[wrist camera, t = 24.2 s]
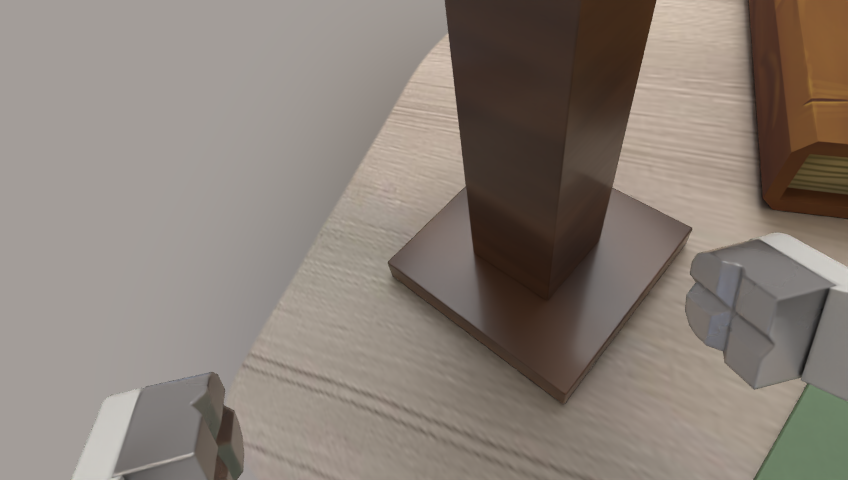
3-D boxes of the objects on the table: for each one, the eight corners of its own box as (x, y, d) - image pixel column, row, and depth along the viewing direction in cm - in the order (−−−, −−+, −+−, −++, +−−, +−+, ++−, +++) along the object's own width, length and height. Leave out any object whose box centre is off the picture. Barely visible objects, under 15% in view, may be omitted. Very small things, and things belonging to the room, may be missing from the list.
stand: (563, 405, 26) (788, -491, 5) (391, 275, 32) (141, -401, 10) (686, 243, 30) (1100, -627, 9) (514, 153, 36) (516, -509, 14)
